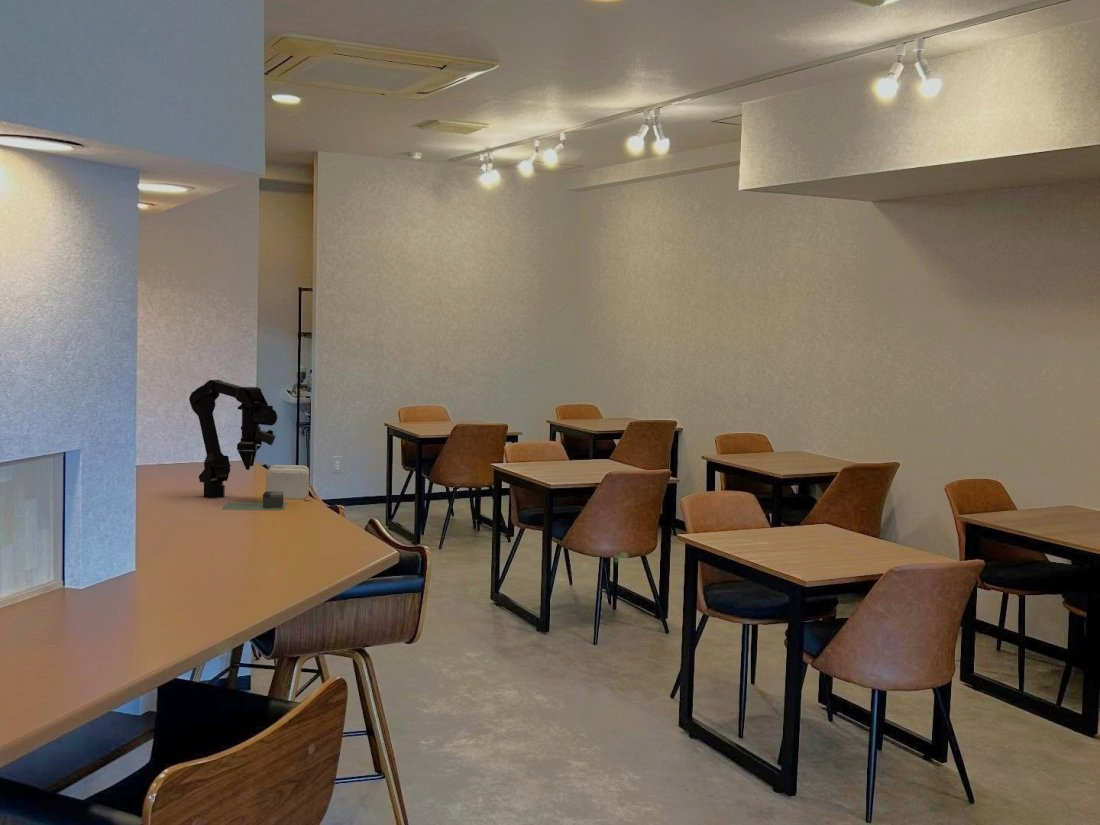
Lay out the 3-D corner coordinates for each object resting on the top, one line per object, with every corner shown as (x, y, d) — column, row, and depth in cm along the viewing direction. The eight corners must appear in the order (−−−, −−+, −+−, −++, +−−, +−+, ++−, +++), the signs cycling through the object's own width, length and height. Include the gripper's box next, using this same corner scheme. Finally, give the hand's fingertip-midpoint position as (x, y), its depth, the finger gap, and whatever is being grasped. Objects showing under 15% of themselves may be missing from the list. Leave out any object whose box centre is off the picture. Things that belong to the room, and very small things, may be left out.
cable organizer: (311, 496, 378) (311, 465, 378) (307, 501, 368) (308, 469, 367) (269, 496, 377) (270, 464, 376) (265, 500, 366) (265, 468, 365)
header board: (221, 511, 342) (221, 500, 341) (228, 504, 356) (228, 493, 355) (283, 512, 345) (283, 501, 345) (287, 505, 359) (287, 494, 358)
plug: (263, 508, 347) (262, 495, 347) (265, 504, 354) (265, 491, 354) (281, 507, 348) (280, 494, 348) (283, 504, 355) (283, 491, 355)
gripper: (271, 426, 346) (270, 472, 348) (277, 421, 365) (276, 464, 366) (237, 425, 345) (236, 471, 346) (244, 420, 363) (244, 464, 364)
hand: (249, 467), depth 356 cm, fingers open, 9 cm apart
